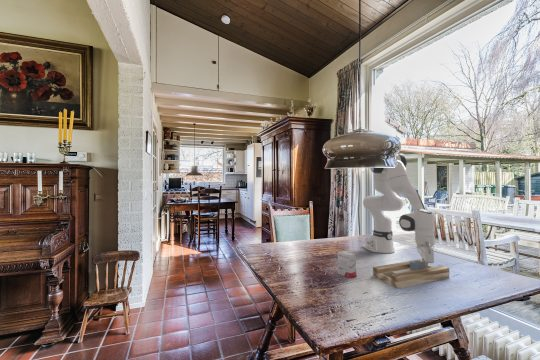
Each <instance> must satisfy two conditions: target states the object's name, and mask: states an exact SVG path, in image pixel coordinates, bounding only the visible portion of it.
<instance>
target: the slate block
mask: <svg viewBox="0 0 540 360" xmlns="http://www.w3.org/2000/svg"><path fill="white" fill-rule="evenodd" d="M415 260H416V261H411V260H409V261H410V269H411V270H414V271H415V270H420V269H425V268H426V265H425V263H423V262H420V261H417V259H415Z"/></svg>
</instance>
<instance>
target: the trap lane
mask: <svg viewBox="0 0 540 360" xmlns="http://www.w3.org/2000/svg"><path fill="white" fill-rule="evenodd" d="M416 260H417V261H420V262H423V261H422V258H417V259H411V260H406V261H400V262H395V263H389V264H382V265H378V266H373V267H372V277H373V278H375V279H377V280H379V281H381V282H383V283H385V284H387V285H390V286H391V287H393V288H396V289H403V288H404V289H405V288H408V287H412V286H418V285H422V284H426V283H430V282H436V281H441V280H445V279H450V268H449V267H447V266H445V265H437V266H433V265H430V264H428V267H426V268H425V269H420V270H415V271H414V270H411V269H410V261H416Z"/></svg>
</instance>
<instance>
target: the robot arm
mask: <svg viewBox="0 0 540 360" xmlns="http://www.w3.org/2000/svg"><path fill="white" fill-rule="evenodd" d="M396 154H397V155H396V160H397V163H398V166H397V167H395V168H370V167H369V169H370V171H371V172H372V173H373V188H374V190H375V191H377V192H378V193H380V194H382V195H379V194H378V195H376V194H375V195H374V194H372V195H368V196H365V197H364V198H363V200H362V203H363V204H362V206H363V207H364V209H365V210H366V211H368V212H369V213H370V214H371V216H372V219H373V223H374V229H373V230H371V232H372V235H371V236H369V237H368V238H367V239H366V241H365V244H363V245H362V248H364V249H366V250H368V251H370V252H372V253H380V254H392V253H395V252H396V251H395V247H394V241H393V230H392V229H393V226H392V225H393V224H392V219H391V218H390V217H388V216H387V215H384V214H383V213H382V212H396V211H400V210H401V209H403V206H404V200H403V199H402V197H400V196H399V195H401V196H403V197H404V198H406V199H407V200H408V202H409V203H410V206H411V208H412V210H413V211H412V212H410V213H405V214H402V215H401V216H400V217H399V219H398V224H399V227H400V228H401V230H403V231H405V232H415V233H414V235H415V236H414V240H415V241H414V242H415V244H416V250H417V253H418V254H419V256H420V257H421V259H422V261H423V263H425V265H426V267H428V265H429V264H434V263H435V256H434V255H435V253H434V248H433V246H435V245H436V239H435V238H436V237H435V235H436V234H435V226H436V225H435V216H434V213H433V212H432V211H431V210H429V209H426V207H425V206H424V203H423V200H422V198H421V196H420V194H419V191H418V190H417V188H416V187H414V185H413V184H412V182H411V180H410V178H409V174H408V171H407V168H406V166H407V164H408V161H407V159H408V158H407V157H406V156H405V154H404V153H396ZM397 194H398V195H397Z"/></svg>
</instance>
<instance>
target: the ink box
mask: <svg viewBox="0 0 540 360" xmlns="http://www.w3.org/2000/svg"><path fill="white" fill-rule="evenodd" d="M336 254H337V272H338V275H340V274H341V275H340V276H344V277H346V278H349V279H353V278H355V277H357V263H356V262H357V259H356V254H355V253H353V252H352V253H351V252H349V251H346V250H345V251H344V250H341V251H338V252H337V253H336Z"/></svg>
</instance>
